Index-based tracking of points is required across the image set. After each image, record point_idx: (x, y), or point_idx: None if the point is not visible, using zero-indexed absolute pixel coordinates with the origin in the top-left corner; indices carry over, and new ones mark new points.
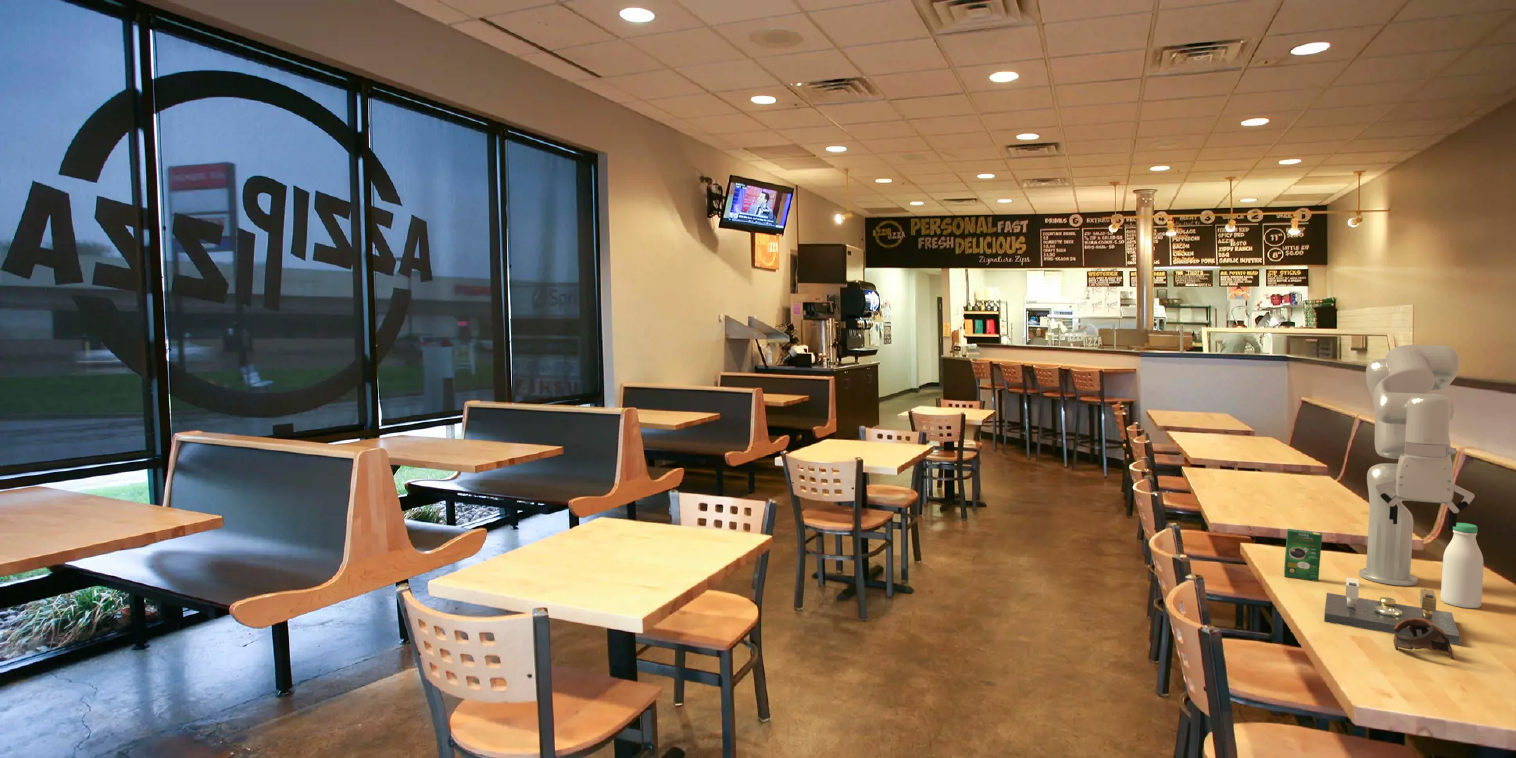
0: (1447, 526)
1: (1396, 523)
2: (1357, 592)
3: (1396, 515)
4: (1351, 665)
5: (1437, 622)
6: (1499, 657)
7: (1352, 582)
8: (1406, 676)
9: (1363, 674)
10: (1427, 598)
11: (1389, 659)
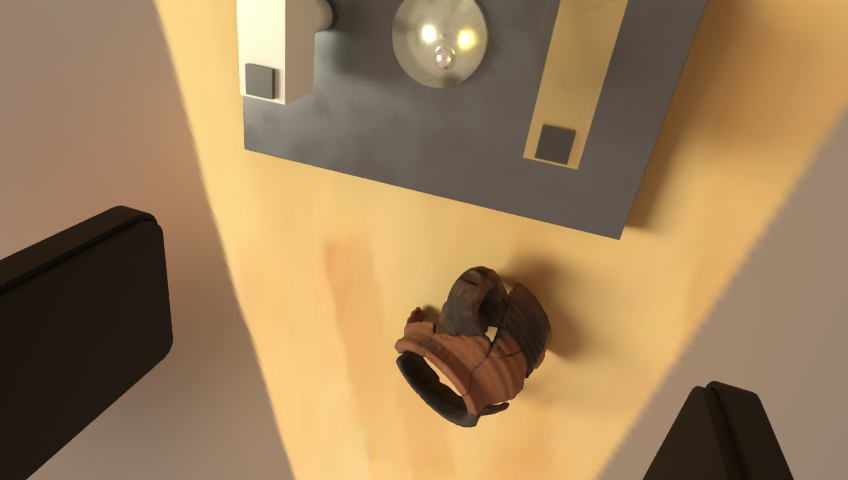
0: (678, 444)
1: (165, 347)
2: (295, 98)
3: (84, 415)
4: (318, 429)
5: (604, 89)
6: (702, 296)
7: (261, 32)
8: (408, 460)
9: (335, 463)
10: (542, 160)
11: (392, 383)
